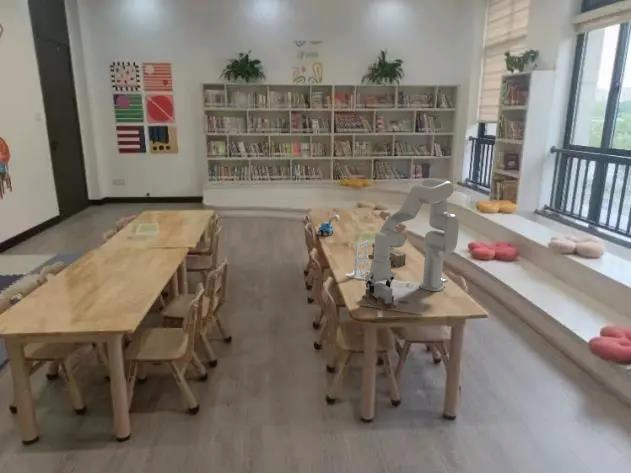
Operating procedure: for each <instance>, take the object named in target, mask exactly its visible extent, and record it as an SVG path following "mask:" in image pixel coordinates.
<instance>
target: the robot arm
mask: <svg viewBox="0 0 631 473" xmlns="http://www.w3.org/2000/svg"><path fill="white" fill-rule="evenodd" d="M454 191H455V186H454V184H453V183H452V182H450V181H448V180H443V179H439V178H425V179H423V181H422V184H421V185H419V184H418V185H417V184H416V185H414V186H412V187H411V189H410V190H409V192H408V194H407V195H406V197H405V199H404V201H403V203H402V205H401V206H400V209H399V210H397V211H396V212H394V213H393V214H392V215H390V216H389V217H388V218H387V219H386V220H385V221H384V222H383V225H381V226H382V227H381V228H380V231H379V232H378V233H375V235H374V243H375V245H374V255H373V260H372V261H371V262H370V264H371V267H370V266H369V267H370V270H369V271H370V274H367V275H366V276H364V278H365V280H366V281H367V283H368V284H369V291H370V292H371V293H374V283H375V282H377V281H379V282H383V281H385V285H386V286H388V287H390V288H391V284H392V282H393V280H394V279H395V276H396V272H394V271H392V264H391V263H390V260H389V258H390V257H391V255H390V248H391V247H392V248H394V249H396V248H401V247H403V246H404V245H405V244H406V243H407V238H406V235H405V234H404V233H402V232H400V231H398V230H395V228H396V227H397V226H398V225H399V224H402V223H404V222H408V221H410V220H413V219H416V217H417V215H418V213H419V211H420V210H421V208H422V205H423V204H425V205H430V207H429V208H430V210H429V218H428V219H429V220H428V221H429V223H428V224H429V226H430V227H431V228H432V229H435V230H430V231H428V232H426V234H425V235H424V239H423V240H424V248H425V249H424V253H425V254H424V264H423V265H424V266H423V276H422V278H423V279H422V282H420V283H419V288H421V289H422V288H423V290H424V289H425V291H429V292H440V291H443V290H444V285H443V284H447V283H449V280H448V278H445V279H443V278H442V276H443V266H444V265H443V264H444V253H447V254H450V253H451V254H452V253H453V252H454V251H455V249H456V248H457V244H458V240H459V239H458V238H459V231H460V230H459V228H460V220H459V218H458V216H457V215H455V214H454V213H450V212H448V198H450V197H451V196H452V195H453V193H454ZM439 230H440V231H439ZM443 252H444V253H443ZM369 279H371V280H369ZM366 281H365V282H366ZM372 281H373V282H372Z"/></svg>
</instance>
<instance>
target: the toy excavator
mask: <svg viewBox="0 0 631 473" xmlns="http://www.w3.org/2000/svg"><path fill="white" fill-rule="evenodd" d="M333 221H335V222H338V221H340V215H338V214H335V215H333V216H332V217H330V218H329V219H328V221H325V222H322V223H321V224H320V226H319V227H318V231H317V235H318V236H322V235H323V236H324V237H325V238H327V237H328V236H331V235H333V234H334V229H335V228H334V227H333Z"/></svg>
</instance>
